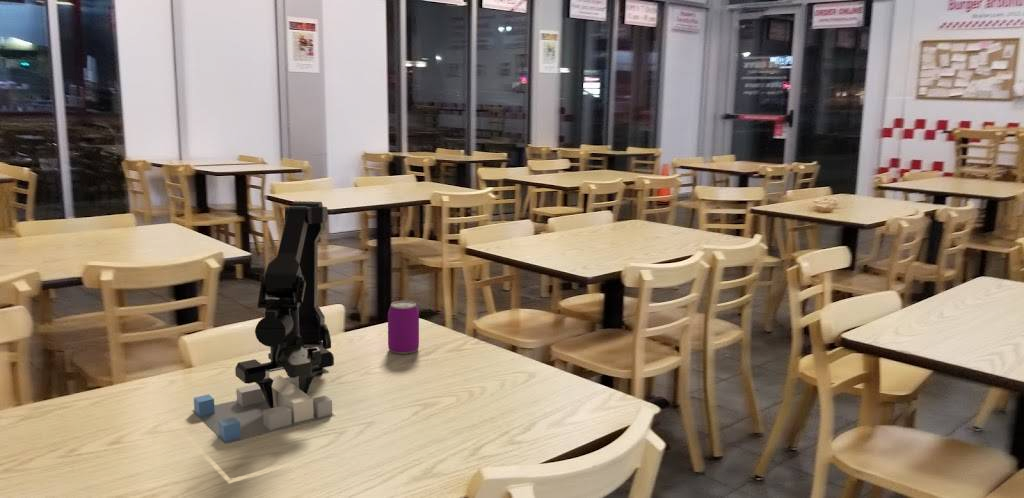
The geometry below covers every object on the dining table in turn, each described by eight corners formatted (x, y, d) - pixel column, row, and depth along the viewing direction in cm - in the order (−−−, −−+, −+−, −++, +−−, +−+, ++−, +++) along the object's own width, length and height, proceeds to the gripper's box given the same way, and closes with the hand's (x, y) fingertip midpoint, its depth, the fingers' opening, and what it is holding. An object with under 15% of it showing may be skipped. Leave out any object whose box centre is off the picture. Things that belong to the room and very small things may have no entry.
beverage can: (421, 346, 209) (421, 300, 206) (415, 356, 201) (415, 308, 199) (392, 344, 209) (391, 299, 207) (384, 354, 202) (384, 307, 199)
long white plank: (262, 397, 172) (261, 379, 171) (280, 393, 174) (279, 375, 173) (294, 422, 159) (293, 403, 158) (313, 417, 162) (313, 398, 161)
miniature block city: (191, 413, 164) (190, 396, 163) (295, 389, 178) (294, 373, 177) (225, 446, 150) (224, 428, 149) (335, 418, 163) (335, 401, 162)
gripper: (254, 350, 152) (257, 428, 155) (345, 332, 163) (347, 406, 166) (232, 335, 160) (236, 410, 163) (320, 319, 171) (322, 390, 175)
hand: (287, 404), depth 167 cm, fingers open, 6 cm apart
